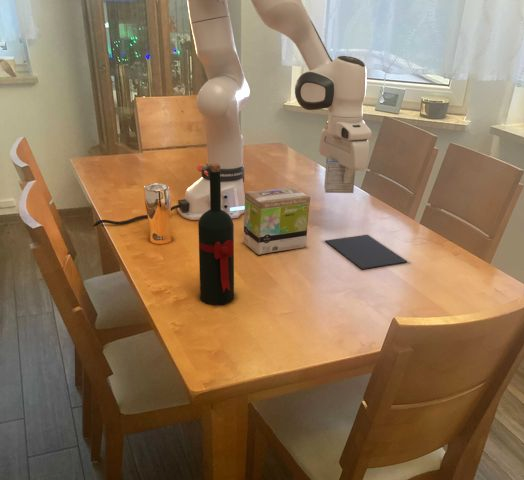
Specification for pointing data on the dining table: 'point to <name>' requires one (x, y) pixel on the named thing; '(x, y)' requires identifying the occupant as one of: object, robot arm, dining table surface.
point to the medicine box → (337, 178)
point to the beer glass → (158, 212)
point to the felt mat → (365, 252)
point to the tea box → (275, 219)
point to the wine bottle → (216, 248)
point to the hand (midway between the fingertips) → (339, 179)
